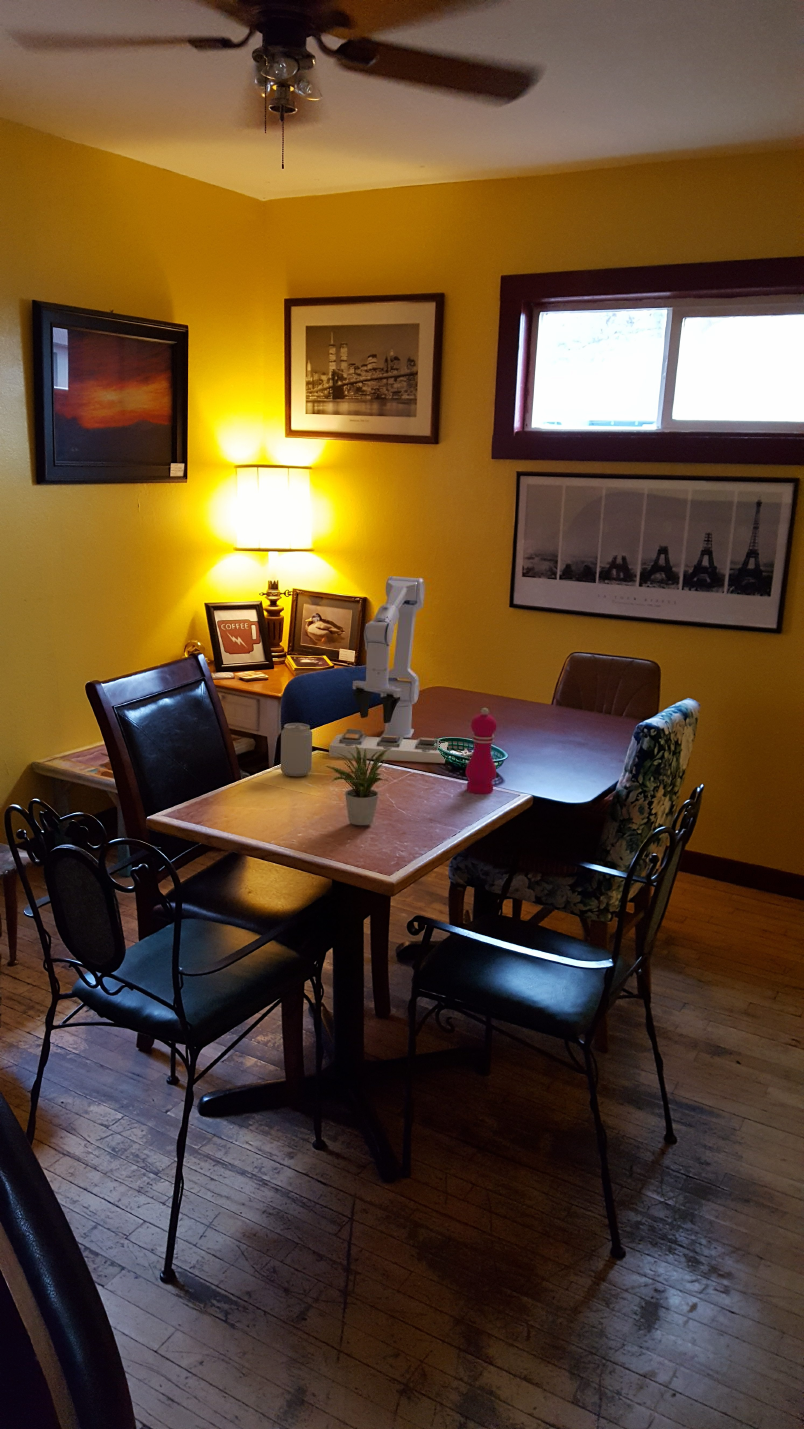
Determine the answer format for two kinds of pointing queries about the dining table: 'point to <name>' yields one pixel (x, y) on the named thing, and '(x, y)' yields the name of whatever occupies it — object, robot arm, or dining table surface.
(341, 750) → the power strip
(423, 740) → the rocker
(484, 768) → the pepper mill
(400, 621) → the robot arm
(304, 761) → the can
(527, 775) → the dining table surface
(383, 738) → the rocker
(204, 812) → the dining table surface
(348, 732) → the rocker
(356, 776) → the house plant
